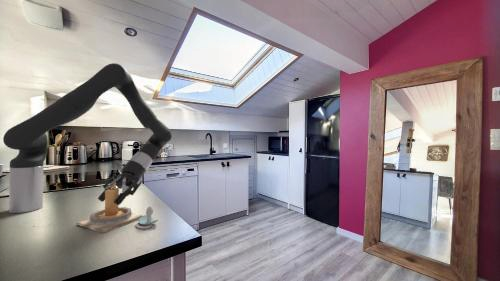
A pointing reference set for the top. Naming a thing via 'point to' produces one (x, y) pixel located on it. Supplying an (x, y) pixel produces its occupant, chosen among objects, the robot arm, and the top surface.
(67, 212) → the top surface
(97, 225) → the carrier plate
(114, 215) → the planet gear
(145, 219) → the pacifier
